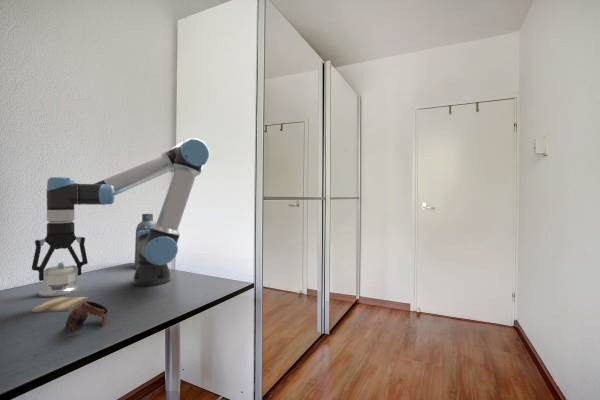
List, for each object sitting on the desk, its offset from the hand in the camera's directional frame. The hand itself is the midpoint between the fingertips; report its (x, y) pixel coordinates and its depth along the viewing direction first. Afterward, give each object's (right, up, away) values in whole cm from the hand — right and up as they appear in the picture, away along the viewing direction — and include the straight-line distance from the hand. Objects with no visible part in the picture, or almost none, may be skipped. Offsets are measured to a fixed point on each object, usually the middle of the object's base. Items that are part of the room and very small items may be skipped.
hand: (60, 287), depth 105 cm
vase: (+2, -5, +56) cm, 56 cm away
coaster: (0, -6, 0) cm, 6 cm away
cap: (0, +2, 0) cm, 2 cm away
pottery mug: (+21, -7, -17) cm, 28 cm away
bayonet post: (-12, -6, +14) cm, 19 cm away
